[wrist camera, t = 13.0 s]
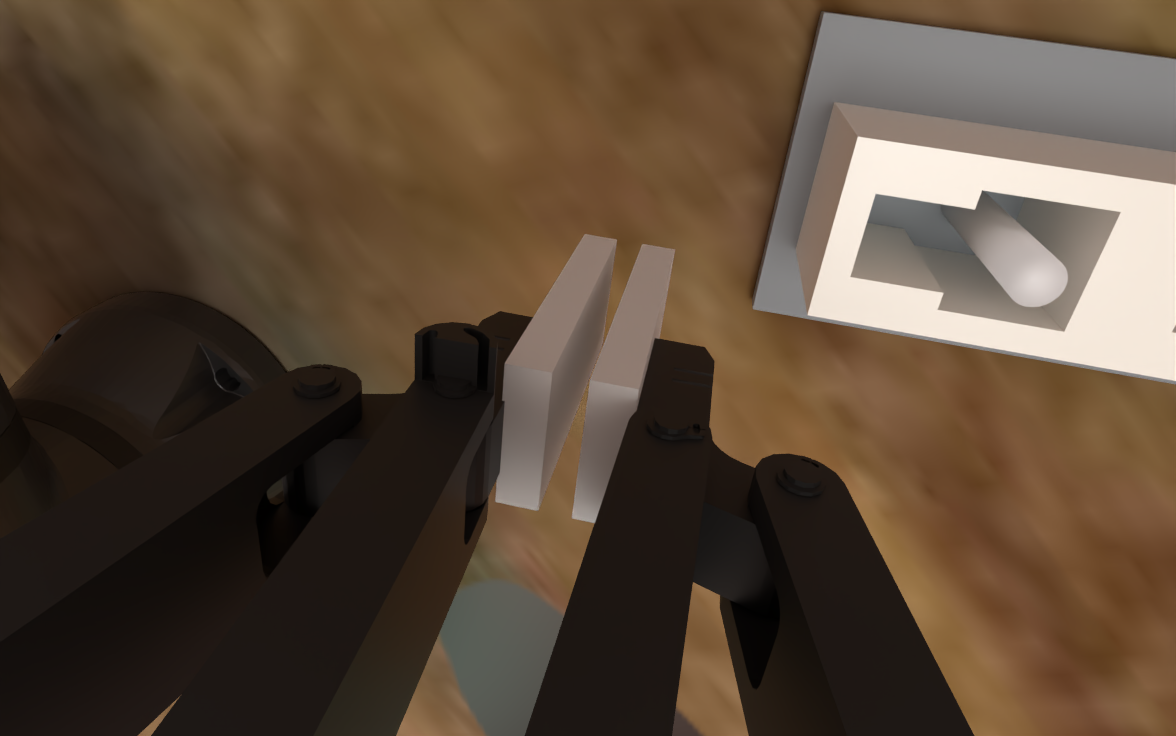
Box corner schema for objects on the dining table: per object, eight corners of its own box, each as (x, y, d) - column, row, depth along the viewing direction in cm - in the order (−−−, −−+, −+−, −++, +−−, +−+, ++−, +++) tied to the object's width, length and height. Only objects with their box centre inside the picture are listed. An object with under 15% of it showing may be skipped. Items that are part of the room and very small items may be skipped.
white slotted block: (795, 249, 32) (808, 319, 25) (834, 101, 29) (859, 139, 22) (1361, 345, 29) (1534, 449, 23) (1465, 195, 26) (1698, 266, 20)
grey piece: (752, 298, 34) (754, 408, 26) (821, 11, 28) (853, 27, 20) (1319, 398, 32) (1533, 557, 23) (1522, 104, 26) (1910, 169, 17)
